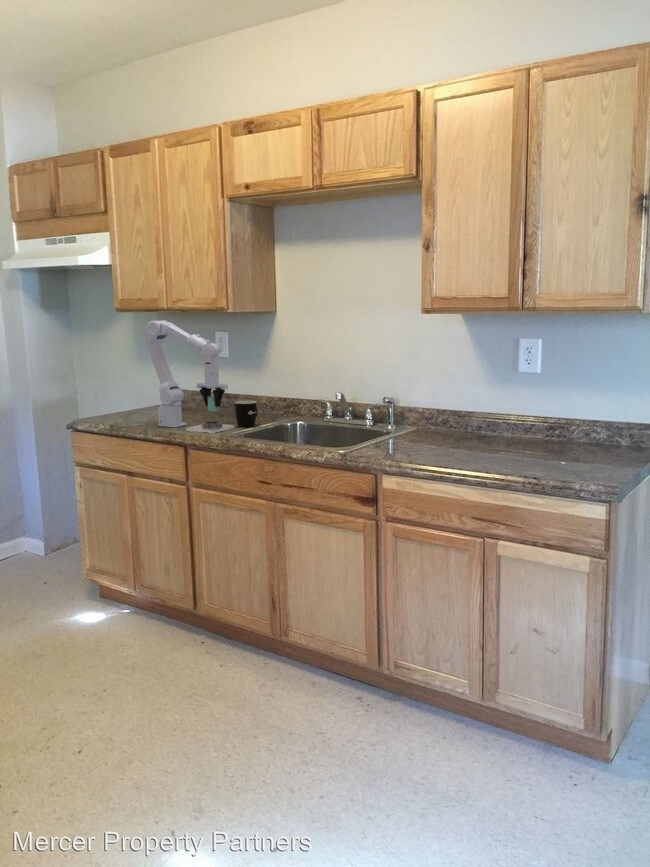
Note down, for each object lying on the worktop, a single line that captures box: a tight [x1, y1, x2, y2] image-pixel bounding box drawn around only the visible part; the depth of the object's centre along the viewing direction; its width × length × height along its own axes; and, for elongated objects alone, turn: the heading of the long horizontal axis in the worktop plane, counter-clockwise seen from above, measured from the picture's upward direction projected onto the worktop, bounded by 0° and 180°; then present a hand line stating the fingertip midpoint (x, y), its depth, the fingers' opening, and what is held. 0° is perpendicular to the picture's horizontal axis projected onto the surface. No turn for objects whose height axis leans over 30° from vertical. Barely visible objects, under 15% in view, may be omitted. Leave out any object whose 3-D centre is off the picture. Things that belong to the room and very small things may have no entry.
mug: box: [234, 400, 258, 428], centre depth 301 cm, size 12×9×10 cm
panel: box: [185, 420, 236, 434], centre depth 293 cm, size 14×14×3 cm
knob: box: [207, 394, 220, 413], centre depth 296 cm, size 4×4×6 cm
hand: (212, 406), depth 296 cm, fingers closed on knob, 4 cm apart
